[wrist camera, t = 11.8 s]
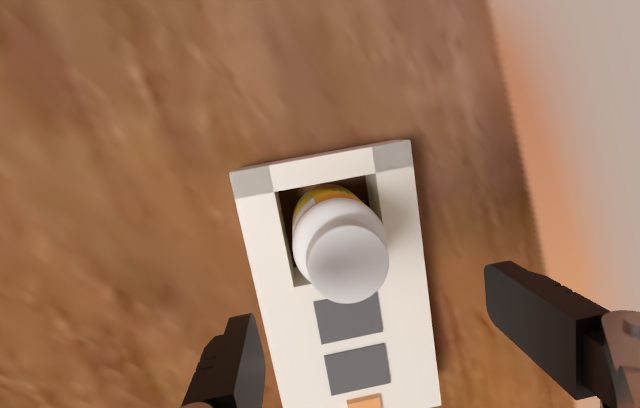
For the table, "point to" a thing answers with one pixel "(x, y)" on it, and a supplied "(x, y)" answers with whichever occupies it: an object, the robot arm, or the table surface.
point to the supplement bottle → (339, 244)
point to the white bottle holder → (337, 318)
